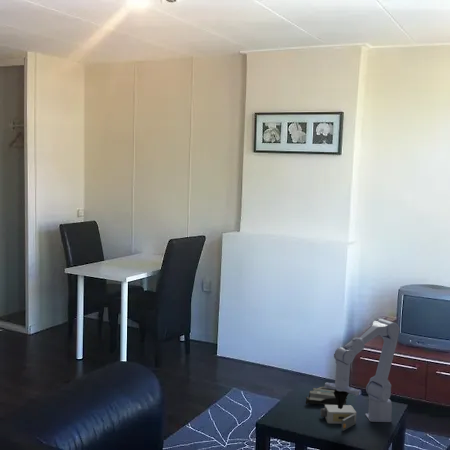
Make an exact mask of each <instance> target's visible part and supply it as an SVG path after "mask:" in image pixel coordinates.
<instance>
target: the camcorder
mask: <svg viewBox="0 0 450 450" xmlns="http://www.w3.org/2000/svg"><path fill="white" fill-rule="evenodd" d="M308 392H309V393H308V396H306V397H305V400H306V401H305V404H306V405H307V404H315V405H316V404H317V405H338V404H337V400H336V397H335V395H334V392H335V390H334V389H330V388H325V386H320V387H318V388H316V387H313V388H312V390H309V391H308ZM347 399H348V397H346V399H345V402H344V404H343V405H347Z"/></svg>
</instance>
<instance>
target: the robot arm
mask: <svg viewBox="0 0 450 450" xmlns="http://www.w3.org/2000/svg"><path fill="white" fill-rule="evenodd" d="M400 330H401V328H400V326H399V325H398V323H397V322H393V321H391V320H387V319H385V318H382V317H378V318H376V319H375V320H374V321H372V323H371V326H370V327H369V328H368V329H367V330H366V331H365V332H364V333H363V334H361V336H359V337H353V338H351V339H352V340H350V341H349V342H348V343H346V344H345V345H344V346H343V347H338V348H337V349H335V352H334V353H333V358H334V359H335V365H336V366H335V380H334V382H325V383H324V387H325V388H330V389H334V390H335V392H334V395H335V397H336V400H337V404H338V408H339V409H342V408H343V405H345V404H344V402H345V399H346V398H348V395H349V394H350V395H354V396H356V397H358V396H359V395H360V389H357V388H354V387H351V386H349V385H350V377H351V375H350V372H351V363H353V361H354V359H355V358H356V356H357V355H358V354H359V353H361V351H363V350H364V349H365V345H366V344H367V343H369V342H371V340H373V339H375V338H376V337H379V336H380V337H381V338H382V340H383V345H382V348H381V352H380V355H379V359H378V364H377V368H376V372H375V375H373V376H372V377H370V378H369V381H368V383H367V384H366V387H365V391H366V394H367V395H368V398H369V400H368V413H365V414H364V415H365V416H366V418H367V419H368V421H369V422H370V423H371V422H372V423H392V410H393V405H392V400H391V399H390V398H391V395H392V384H391V382H390V380H389V375H390V371H391V367H392V364H393V359H394V356H395V352H396V348H397V345H398V339H399V334H400ZM346 400H347V399H346Z"/></svg>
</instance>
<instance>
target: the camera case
mask: <svg viewBox="0 0 450 450" xmlns="http://www.w3.org/2000/svg"><path fill="white" fill-rule="evenodd" d="M319 414H320V417H321V418H325V421H326V423H327V424H340V425H342V420H343V419H345V418H347V417H349V416H351V415H352V414H356V415H357V411H356V410H355V409H354V407H353V405H350V404H348V405H347V404H343V408H342V409H339V408H338V405H327V404H324V408H320V413H319ZM355 425H357V422H356V423H355Z"/></svg>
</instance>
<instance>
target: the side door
mask: <svg viewBox="0 0 450 450" xmlns="http://www.w3.org/2000/svg"><path fill="white" fill-rule="evenodd" d="M355 423H356V424H357V413H356V414H352V415H351V416H349V417H347V418H345V419H343V420H342V424H341V431H342V432H343V431H346V430H348V429H349V428H351V427H353V426H354V425H356V424H355Z"/></svg>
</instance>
